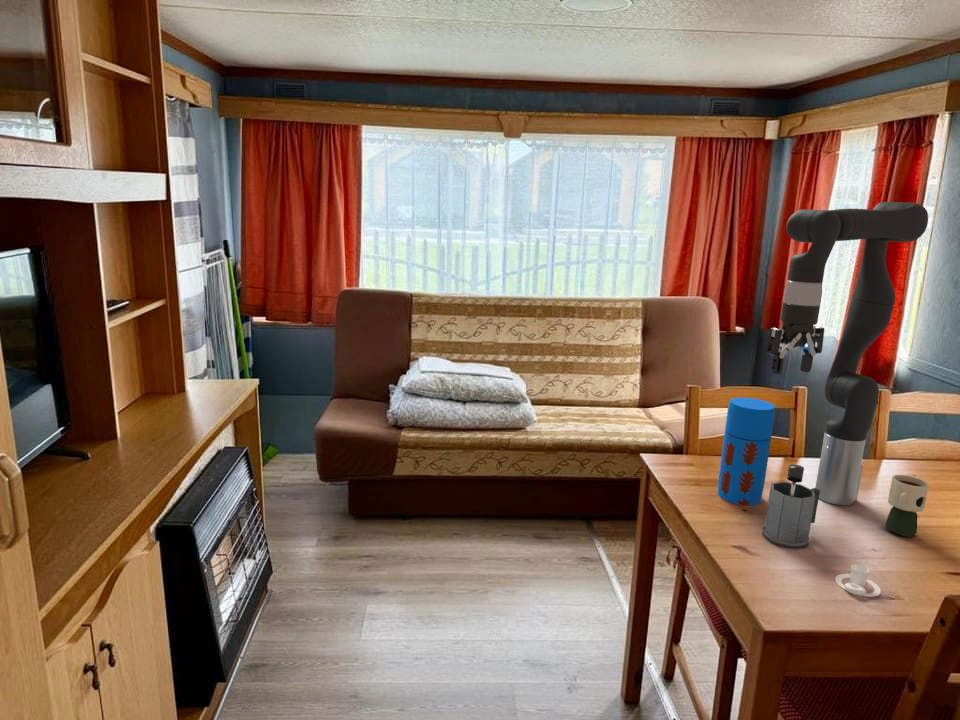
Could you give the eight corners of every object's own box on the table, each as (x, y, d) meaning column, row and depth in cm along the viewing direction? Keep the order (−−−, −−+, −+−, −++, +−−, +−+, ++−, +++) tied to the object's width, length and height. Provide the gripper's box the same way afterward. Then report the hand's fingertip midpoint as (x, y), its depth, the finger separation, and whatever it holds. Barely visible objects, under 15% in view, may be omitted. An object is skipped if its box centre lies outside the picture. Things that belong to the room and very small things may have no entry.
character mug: (912, 546, 147) (923, 492, 144) (876, 534, 152) (886, 482, 149) (922, 530, 155) (933, 479, 152) (888, 520, 160) (898, 469, 157)
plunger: (786, 518, 152) (795, 459, 149) (810, 532, 146) (820, 471, 143) (763, 522, 150) (772, 462, 146) (787, 536, 144) (797, 474, 140)
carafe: (793, 524, 156) (801, 477, 153) (827, 543, 147) (836, 494, 144) (752, 531, 151) (759, 484, 148) (785, 551, 142) (793, 501, 140)
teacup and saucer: (858, 603, 125) (862, 583, 124) (822, 581, 132) (826, 562, 131) (889, 594, 129) (893, 575, 128) (853, 573, 136) (856, 555, 135)
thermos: (765, 508, 163) (780, 412, 158) (720, 502, 165) (733, 407, 160) (756, 490, 174) (770, 399, 168) (714, 485, 176) (726, 395, 170)
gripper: (811, 299, 152) (801, 367, 156) (764, 299, 147) (754, 370, 151) (839, 303, 145) (827, 375, 149) (790, 304, 140) (779, 378, 144)
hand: (790, 372), depth 150 cm, fingers open, 8 cm apart
